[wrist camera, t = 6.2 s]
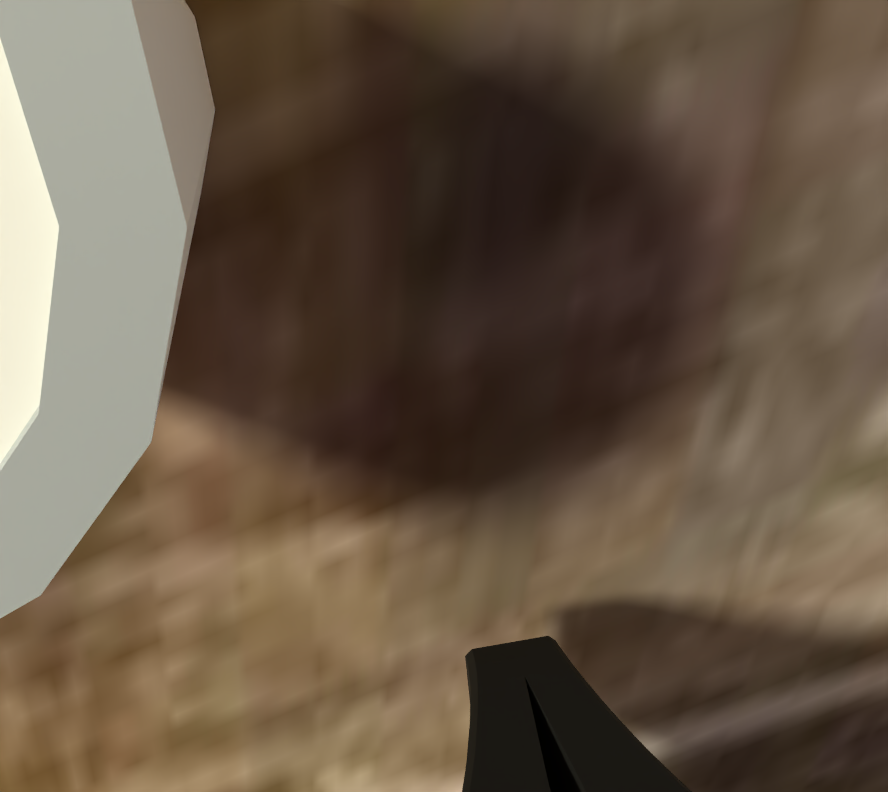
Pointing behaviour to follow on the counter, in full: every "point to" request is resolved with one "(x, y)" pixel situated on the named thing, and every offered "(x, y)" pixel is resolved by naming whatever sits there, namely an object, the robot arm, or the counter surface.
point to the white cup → (88, 255)
